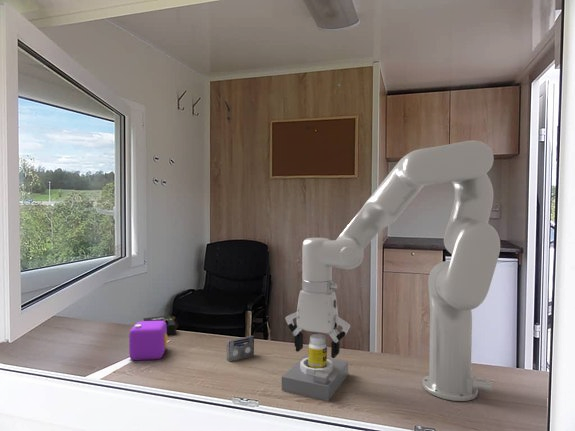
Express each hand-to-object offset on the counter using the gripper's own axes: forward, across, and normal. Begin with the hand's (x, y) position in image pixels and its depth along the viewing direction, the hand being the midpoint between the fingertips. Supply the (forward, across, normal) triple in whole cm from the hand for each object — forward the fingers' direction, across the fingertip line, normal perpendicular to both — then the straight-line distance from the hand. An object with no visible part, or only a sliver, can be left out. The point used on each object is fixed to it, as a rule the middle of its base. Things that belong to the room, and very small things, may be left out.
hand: (316, 353), depth 99 cm
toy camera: (+8, +53, +4) cm, 54 cm away
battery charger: (+8, +65, -13) cm, 67 cm away
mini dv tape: (+8, +26, -5) cm, 28 cm away
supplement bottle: (+4, 0, 0) cm, 4 cm away
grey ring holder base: (+8, 0, 0) cm, 8 cm away
